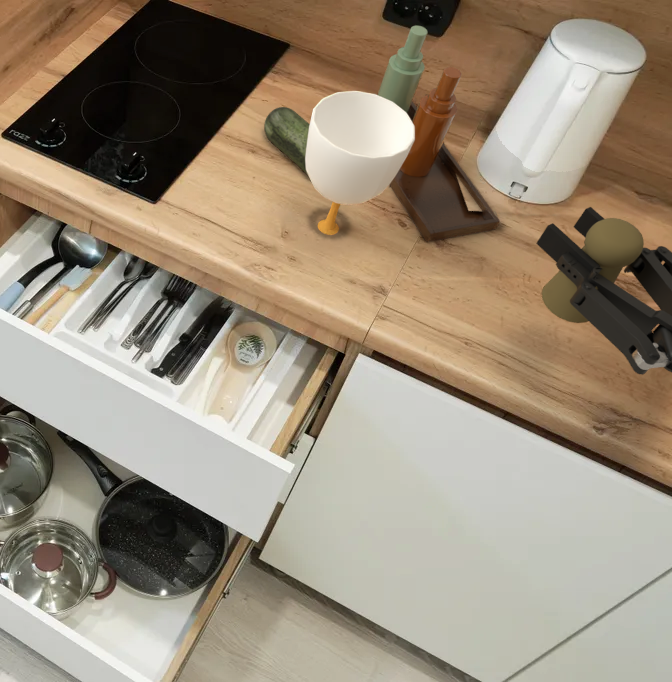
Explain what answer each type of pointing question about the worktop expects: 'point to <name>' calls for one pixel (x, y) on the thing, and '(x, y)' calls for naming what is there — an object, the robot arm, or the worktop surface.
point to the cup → (355, 149)
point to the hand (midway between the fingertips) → (563, 225)
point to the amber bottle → (432, 124)
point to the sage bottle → (404, 70)
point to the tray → (442, 199)
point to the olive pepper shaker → (606, 250)
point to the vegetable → (288, 134)
